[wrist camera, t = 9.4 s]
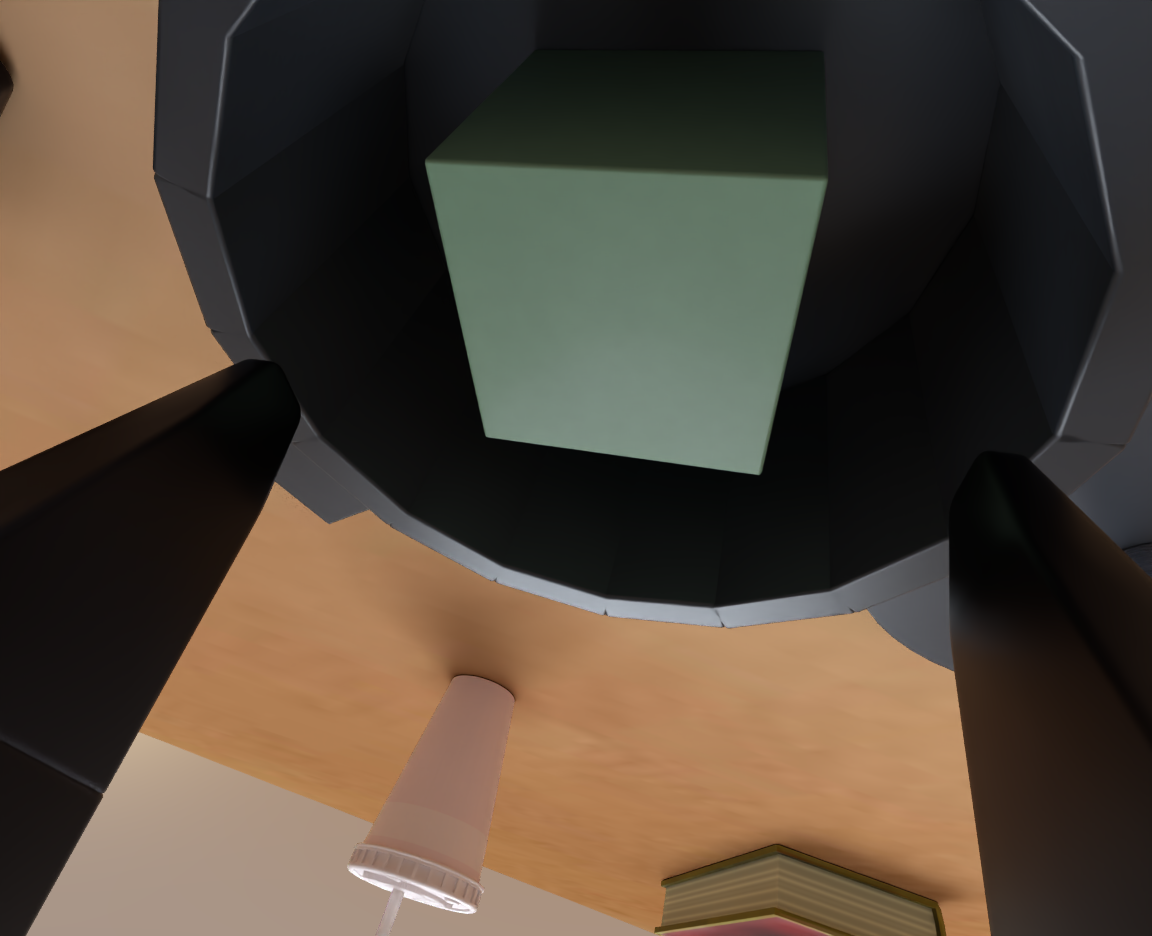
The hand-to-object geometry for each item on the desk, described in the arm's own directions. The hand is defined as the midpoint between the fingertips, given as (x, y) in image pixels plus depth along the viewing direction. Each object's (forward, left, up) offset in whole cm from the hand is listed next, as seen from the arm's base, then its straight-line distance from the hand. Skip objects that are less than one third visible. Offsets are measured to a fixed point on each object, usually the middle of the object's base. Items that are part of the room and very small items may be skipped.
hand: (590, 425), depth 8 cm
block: (0, 0, -7) cm, 7 cm away
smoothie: (-23, -19, -8) cm, 31 cm away
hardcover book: (-20, -52, -8) cm, 56 cm away
